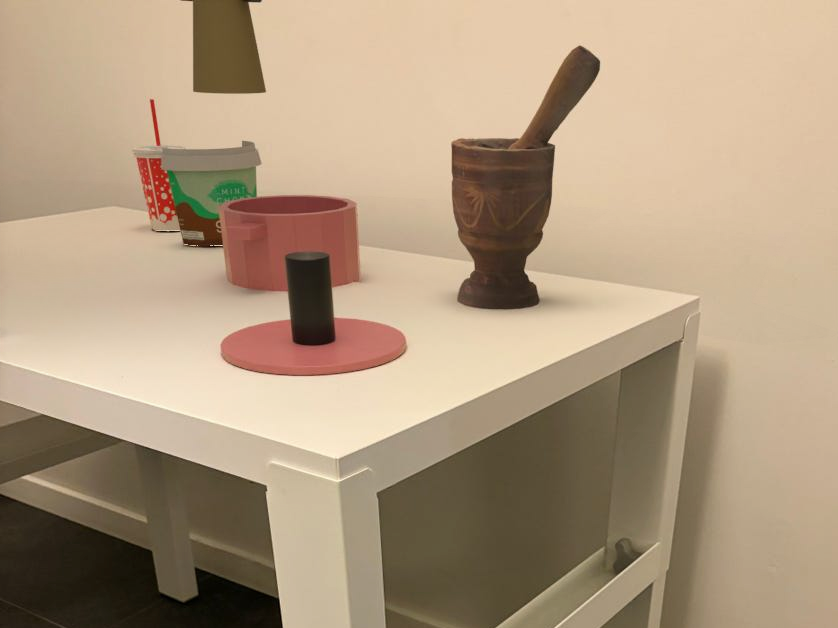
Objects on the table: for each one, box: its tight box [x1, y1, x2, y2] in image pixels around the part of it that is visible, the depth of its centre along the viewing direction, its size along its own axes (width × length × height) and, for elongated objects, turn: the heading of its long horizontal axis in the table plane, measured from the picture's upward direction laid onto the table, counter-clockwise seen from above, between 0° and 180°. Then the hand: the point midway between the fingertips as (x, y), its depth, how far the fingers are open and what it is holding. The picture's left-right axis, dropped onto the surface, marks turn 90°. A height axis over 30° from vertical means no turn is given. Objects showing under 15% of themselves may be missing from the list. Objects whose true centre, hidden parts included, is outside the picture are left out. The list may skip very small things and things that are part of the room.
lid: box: [220, 251, 407, 376], centre depth 72 cm, size 14×14×7 cm
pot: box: [218, 194, 361, 292], centre depth 94 cm, size 13×18×7 cm
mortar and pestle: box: [451, 44, 601, 311], centre depth 83 cm, size 12×9×20 cm
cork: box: [192, 0, 267, 95], centre depth 80 cm, size 6×6×11 cm
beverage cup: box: [132, 98, 187, 230], centre depth 117 cm, size 6×6×14 cm
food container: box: [161, 140, 263, 246], centre depth 111 cm, size 12×6×10 cm, turn 143°
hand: (220, 0), depth 79 cm, fingers closed on cork, 5 cm apart
